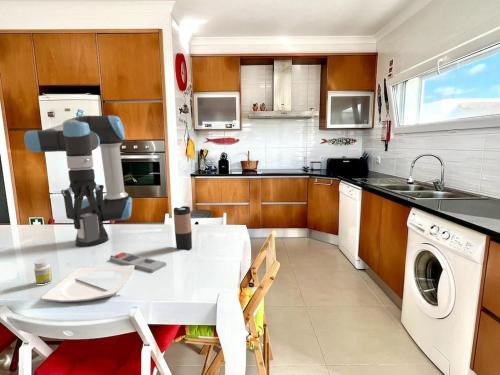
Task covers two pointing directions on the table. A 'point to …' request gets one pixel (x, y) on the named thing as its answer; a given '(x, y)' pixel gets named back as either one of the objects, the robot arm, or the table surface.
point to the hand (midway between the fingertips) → (88, 235)
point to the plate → (85, 285)
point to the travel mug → (183, 228)
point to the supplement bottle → (42, 272)
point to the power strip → (138, 262)
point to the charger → (90, 227)
